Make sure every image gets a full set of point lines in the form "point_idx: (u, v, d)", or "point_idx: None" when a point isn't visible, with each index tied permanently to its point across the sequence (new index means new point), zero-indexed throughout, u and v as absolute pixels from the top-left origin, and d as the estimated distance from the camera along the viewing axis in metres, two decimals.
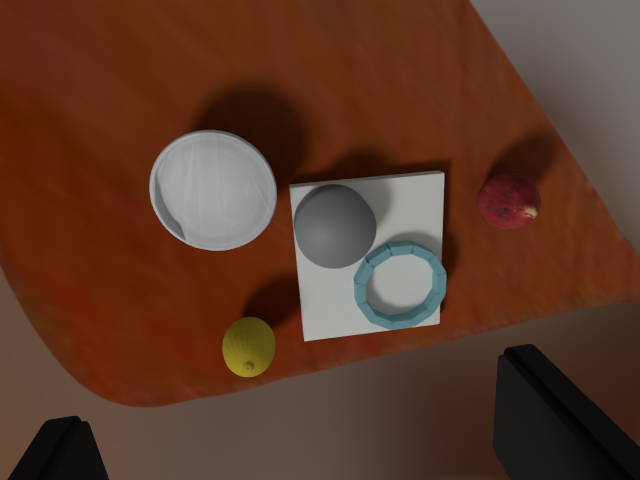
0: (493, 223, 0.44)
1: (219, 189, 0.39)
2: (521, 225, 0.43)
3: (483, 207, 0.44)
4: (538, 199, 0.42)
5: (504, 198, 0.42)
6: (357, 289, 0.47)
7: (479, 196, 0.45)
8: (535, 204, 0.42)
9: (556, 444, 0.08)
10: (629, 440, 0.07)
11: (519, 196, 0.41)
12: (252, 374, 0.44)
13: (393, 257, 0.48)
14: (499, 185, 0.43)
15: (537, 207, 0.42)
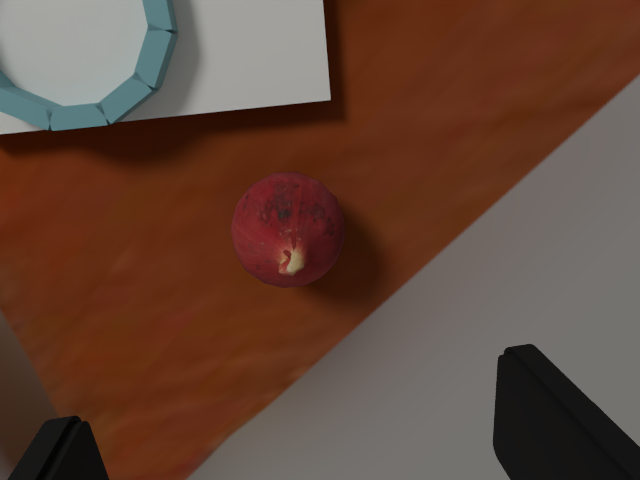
0: (244, 203, 0.21)
1: None
2: (251, 256, 0.20)
3: (276, 177, 0.21)
4: (308, 277, 0.21)
5: (308, 206, 0.20)
6: None
7: (292, 172, 0.22)
8: (302, 271, 0.20)
9: (556, 444, 0.08)
10: (629, 440, 0.07)
11: (319, 234, 0.20)
12: None
13: None
14: (327, 199, 0.21)
15: (294, 278, 0.20)
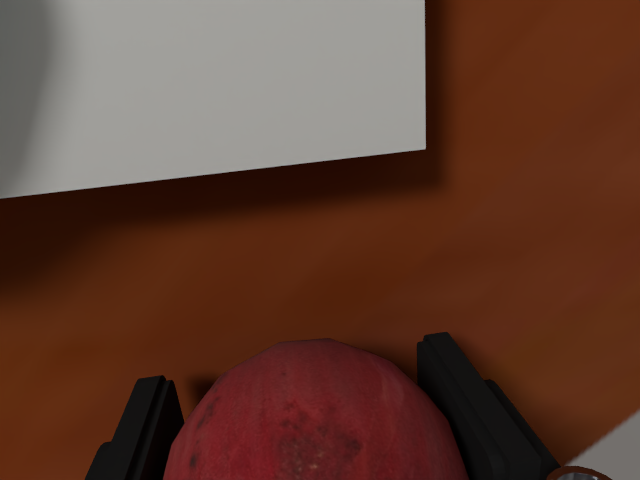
0: None
1: None
2: None
3: (285, 394, 0.07)
4: None
5: None
6: None
7: (328, 351, 0.08)
8: None
9: (452, 421, 0.09)
10: (506, 415, 0.08)
11: None
12: None
13: None
14: (442, 464, 0.07)
15: None
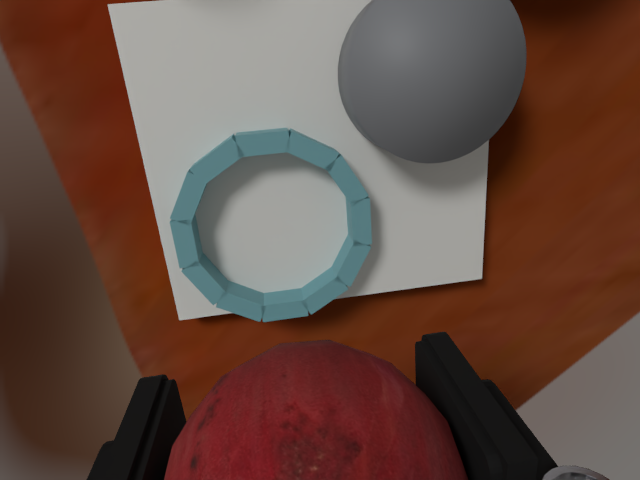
0: None
1: None
2: None
3: (286, 396, 0.07)
4: None
5: None
6: (275, 134, 0.20)
7: (328, 353, 0.08)
8: None
9: (450, 421, 0.09)
10: (504, 414, 0.08)
11: None
12: None
13: (331, 209, 0.24)
14: (442, 465, 0.07)
15: None
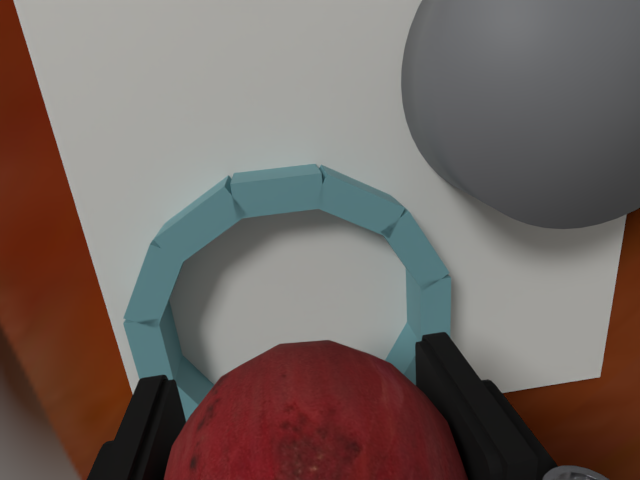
0: None
1: None
2: None
3: (285, 396, 0.07)
4: None
5: None
6: (299, 180, 0.12)
7: (328, 353, 0.08)
8: None
9: (450, 421, 0.09)
10: (503, 414, 0.08)
11: None
12: None
13: (382, 286, 0.15)
14: (441, 466, 0.07)
15: None
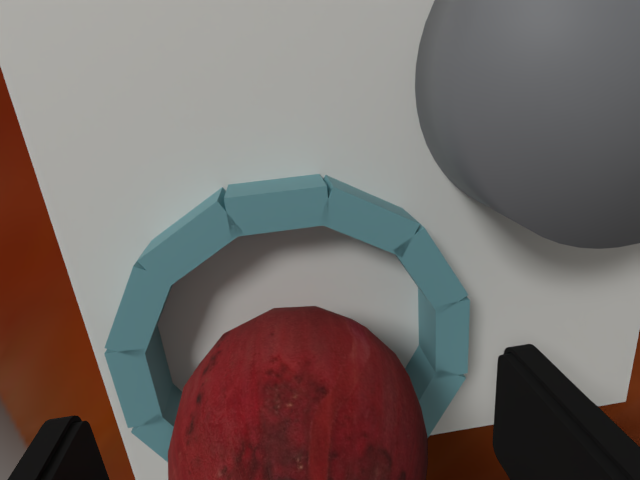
0: (192, 416, 0.09)
1: None
2: None
3: (272, 350, 0.09)
4: None
5: (351, 463, 0.07)
6: (302, 194, 0.11)
7: (310, 317, 0.10)
8: None
9: (556, 444, 0.08)
10: (629, 440, 0.07)
11: None
12: None
13: (392, 307, 0.14)
14: (395, 409, 0.08)
15: None
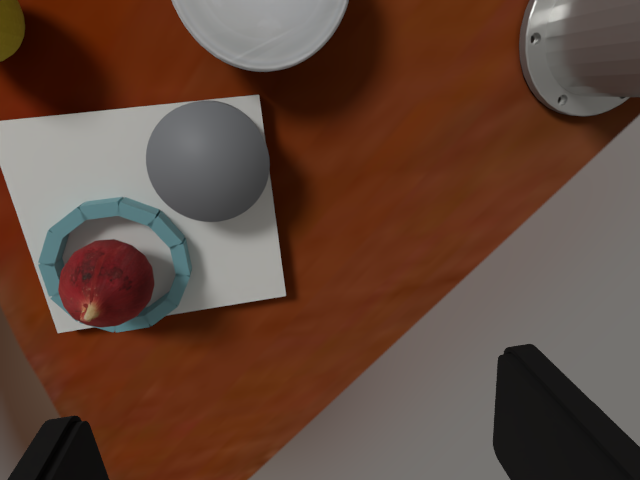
0: (65, 267, 0.28)
1: None
2: (67, 306, 0.27)
3: (91, 246, 0.28)
4: (115, 320, 0.28)
5: (107, 270, 0.27)
6: (108, 204, 0.30)
7: (109, 240, 0.29)
8: (104, 317, 0.27)
9: (556, 444, 0.08)
10: (629, 440, 0.07)
11: (115, 290, 0.27)
12: None
13: (163, 250, 0.33)
14: (129, 261, 0.28)
15: (101, 321, 0.28)
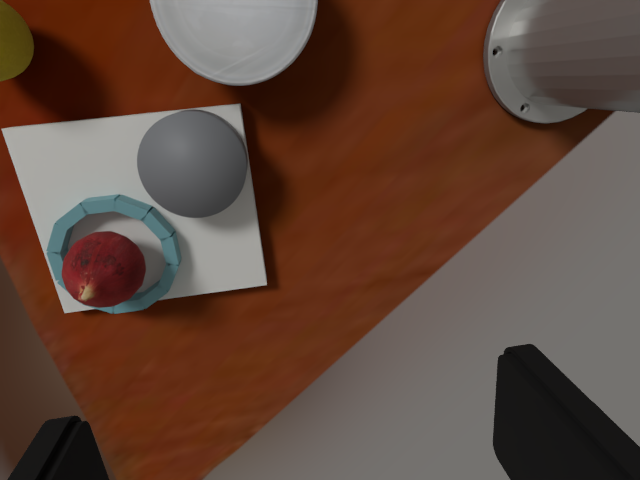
0: (67, 254, 0.32)
1: (241, 3, 0.29)
2: (68, 288, 0.32)
3: (90, 237, 0.33)
4: (109, 301, 0.32)
5: (102, 257, 0.31)
6: (106, 201, 0.34)
7: (106, 232, 0.34)
8: (99, 298, 0.31)
9: (556, 444, 0.08)
10: (629, 440, 0.07)
11: (108, 275, 0.31)
12: None
13: (155, 242, 0.38)
14: (122, 250, 0.32)
15: (97, 302, 0.32)
